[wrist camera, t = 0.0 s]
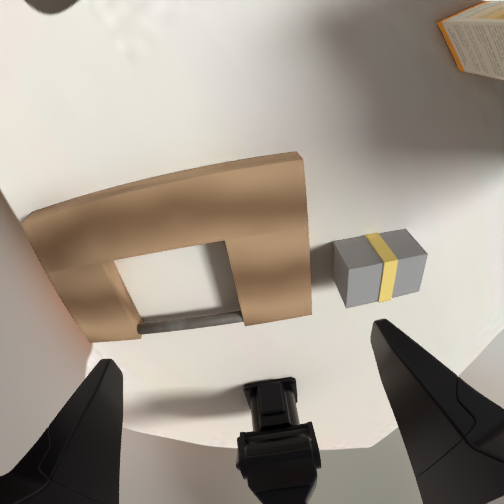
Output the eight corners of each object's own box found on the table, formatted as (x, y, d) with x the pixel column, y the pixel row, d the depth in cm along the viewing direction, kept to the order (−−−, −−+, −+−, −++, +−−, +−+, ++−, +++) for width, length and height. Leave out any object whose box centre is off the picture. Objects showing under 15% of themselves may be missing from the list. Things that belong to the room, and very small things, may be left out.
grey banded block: (400, 265, 27) (419, 292, 24) (332, 278, 28) (346, 310, 24) (405, 227, 25) (428, 253, 22) (333, 239, 25) (349, 269, 22)
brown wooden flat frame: (307, 299, 29) (311, 314, 27) (94, 328, 29) (89, 342, 27) (296, 151, 21) (303, 159, 19) (32, 212, 21) (21, 223, 19)
